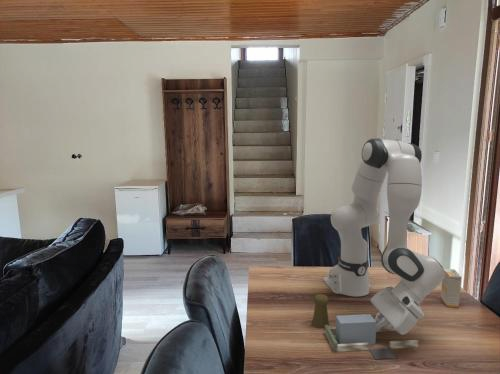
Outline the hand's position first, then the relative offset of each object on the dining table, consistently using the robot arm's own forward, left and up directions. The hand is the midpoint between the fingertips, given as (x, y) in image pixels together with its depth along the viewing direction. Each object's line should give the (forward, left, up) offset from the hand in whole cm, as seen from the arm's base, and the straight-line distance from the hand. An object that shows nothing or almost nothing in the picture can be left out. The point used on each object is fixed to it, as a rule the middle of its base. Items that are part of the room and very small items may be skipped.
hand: (374, 326), depth 122 cm
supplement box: (-11, +46, -5) cm, 48 cm away
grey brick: (-2, -6, -5) cm, 8 cm away
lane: (0, -1, -5) cm, 5 cm away
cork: (-15, -12, -5) cm, 20 cm away
